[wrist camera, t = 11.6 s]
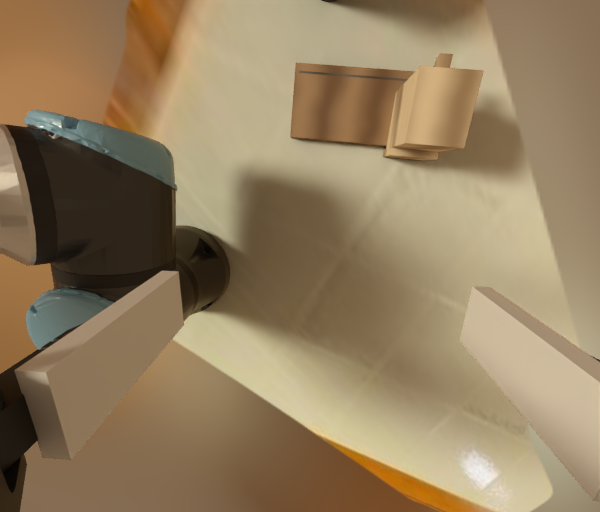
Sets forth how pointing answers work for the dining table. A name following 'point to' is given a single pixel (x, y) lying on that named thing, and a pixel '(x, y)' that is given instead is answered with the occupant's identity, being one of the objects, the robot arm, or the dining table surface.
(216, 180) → the dining table surface
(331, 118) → the plank
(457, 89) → the tan block with peg
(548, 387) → the robot arm
